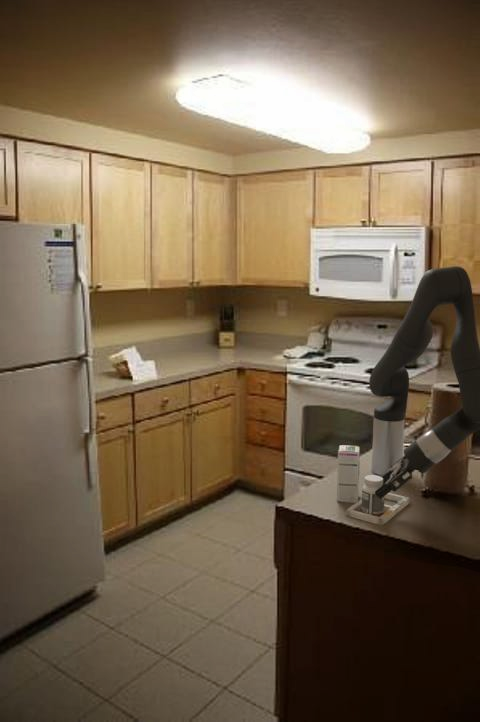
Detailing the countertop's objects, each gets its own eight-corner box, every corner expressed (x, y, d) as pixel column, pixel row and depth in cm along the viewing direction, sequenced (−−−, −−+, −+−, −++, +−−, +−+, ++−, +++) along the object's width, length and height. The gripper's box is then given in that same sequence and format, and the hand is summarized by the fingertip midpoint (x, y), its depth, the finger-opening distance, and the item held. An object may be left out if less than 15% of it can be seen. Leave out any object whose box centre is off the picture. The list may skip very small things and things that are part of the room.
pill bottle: (384, 512, 165) (386, 475, 163) (382, 520, 159) (384, 483, 158) (362, 509, 166) (364, 473, 165) (359, 517, 161) (361, 480, 159)
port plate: (374, 494, 177) (375, 488, 176) (409, 503, 171) (409, 496, 171) (345, 515, 162) (346, 508, 162) (382, 525, 156) (382, 518, 156)
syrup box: (358, 503, 170) (360, 451, 168) (336, 501, 171) (338, 450, 169) (358, 495, 176) (360, 445, 173) (337, 493, 177) (339, 444, 174)
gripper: (417, 431, 163) (370, 469, 168) (416, 447, 150) (365, 488, 155) (437, 453, 163) (390, 490, 168) (438, 471, 149) (387, 511, 154)
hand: (378, 489), depth 161 cm, fingers open, 8 cm apart
